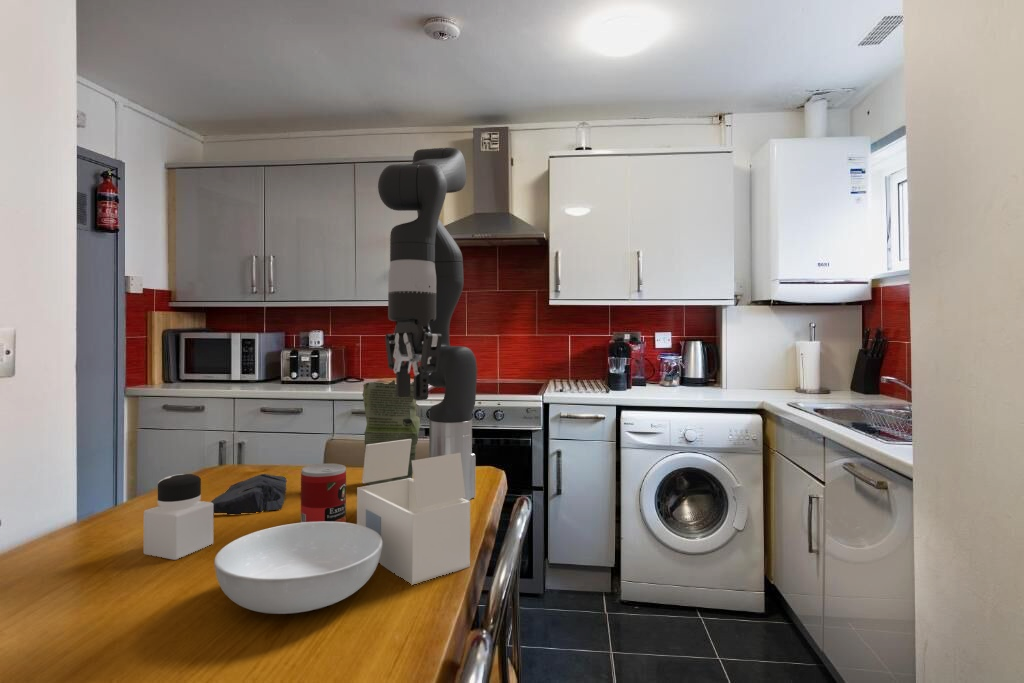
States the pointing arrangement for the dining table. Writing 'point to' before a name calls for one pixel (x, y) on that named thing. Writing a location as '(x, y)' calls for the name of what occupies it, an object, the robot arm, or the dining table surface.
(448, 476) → the near flap
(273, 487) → the dark slate chunk
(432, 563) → the carton
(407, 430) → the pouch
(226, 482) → the dining table surface
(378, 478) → the far flap
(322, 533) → the serving bowl
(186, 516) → the medicine bottle
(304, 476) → the canned food
